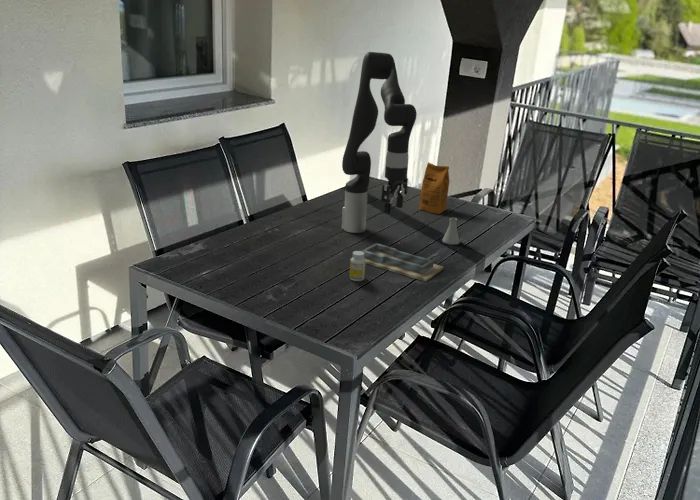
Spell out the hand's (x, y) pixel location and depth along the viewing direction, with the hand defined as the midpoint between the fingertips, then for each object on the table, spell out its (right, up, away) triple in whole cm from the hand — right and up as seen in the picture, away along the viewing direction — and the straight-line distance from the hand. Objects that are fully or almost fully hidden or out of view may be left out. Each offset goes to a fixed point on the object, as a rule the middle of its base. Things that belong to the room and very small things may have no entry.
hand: (393, 210), depth 216 cm
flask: (+26, -11, +39) cm, 48 cm away
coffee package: (+23, +5, +77) cm, 80 cm away
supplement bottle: (-13, -24, +2) cm, 27 cm away
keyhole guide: (+3, -19, +15) cm, 24 cm away
